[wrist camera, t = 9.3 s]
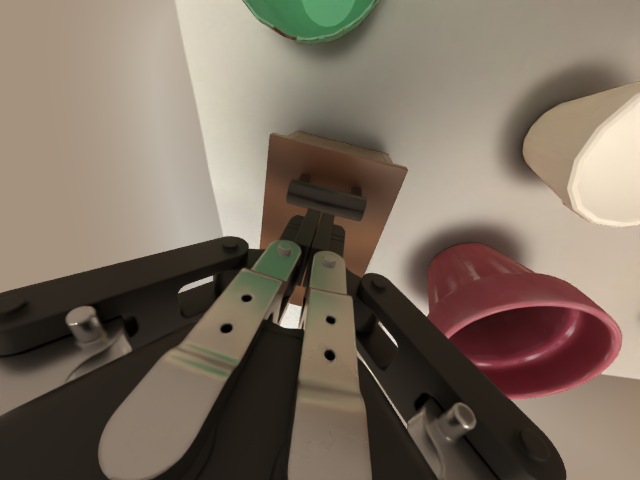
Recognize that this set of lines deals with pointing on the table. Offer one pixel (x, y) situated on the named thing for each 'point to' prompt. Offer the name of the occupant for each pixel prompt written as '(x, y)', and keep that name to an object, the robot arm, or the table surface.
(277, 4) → the mug
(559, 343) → the flower pot
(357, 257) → the lid
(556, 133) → the cup
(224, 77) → the table surface
